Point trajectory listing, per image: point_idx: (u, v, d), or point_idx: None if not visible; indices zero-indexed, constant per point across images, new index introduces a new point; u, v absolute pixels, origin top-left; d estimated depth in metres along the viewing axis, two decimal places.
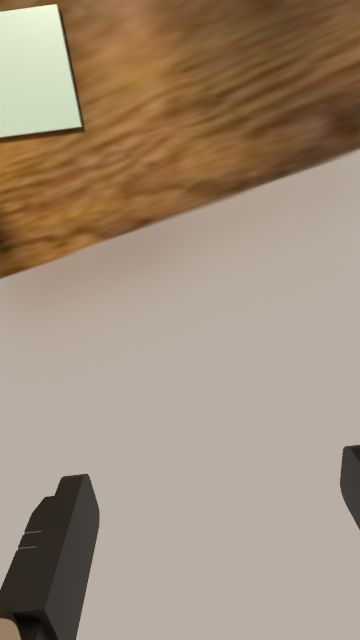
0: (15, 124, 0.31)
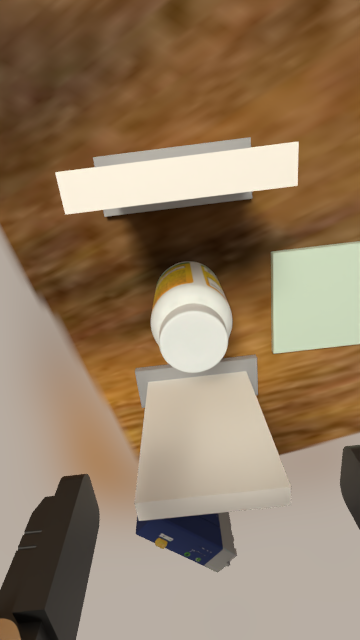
0: (307, 341, 0.29)
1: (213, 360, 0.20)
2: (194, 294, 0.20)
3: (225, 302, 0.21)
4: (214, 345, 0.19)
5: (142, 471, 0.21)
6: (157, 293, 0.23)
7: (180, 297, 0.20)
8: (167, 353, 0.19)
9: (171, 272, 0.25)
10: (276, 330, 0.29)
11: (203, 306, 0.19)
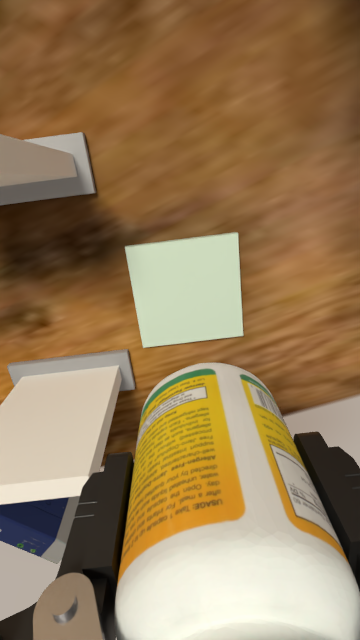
0: (174, 335, 0.30)
1: None
2: (258, 588, 0.06)
3: (350, 581, 0.07)
4: None
5: None
6: (138, 487, 0.09)
7: (207, 596, 0.06)
8: None
9: (174, 407, 0.10)
10: (141, 324, 0.29)
11: None
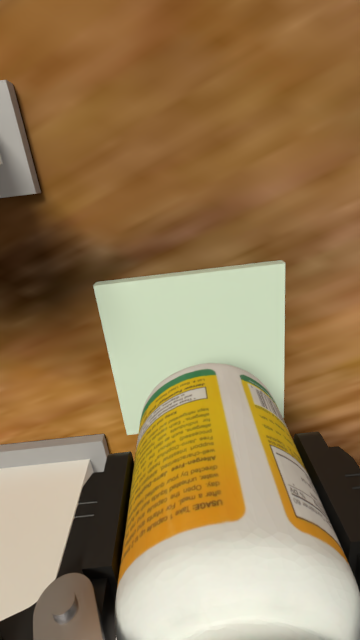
0: None
1: None
2: (258, 589, 0.06)
3: (350, 582, 0.07)
4: None
5: None
6: (138, 487, 0.09)
7: (208, 597, 0.06)
8: None
9: (174, 407, 0.10)
10: (123, 402, 0.18)
11: None
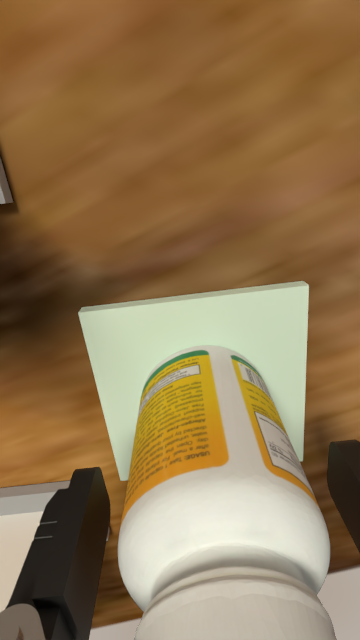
0: None
1: None
2: (236, 517, 0.07)
3: (317, 518, 0.08)
4: None
5: None
6: (138, 449, 0.10)
7: (195, 524, 0.07)
8: None
9: (171, 382, 0.12)
10: (116, 445, 0.16)
11: (272, 592, 0.06)
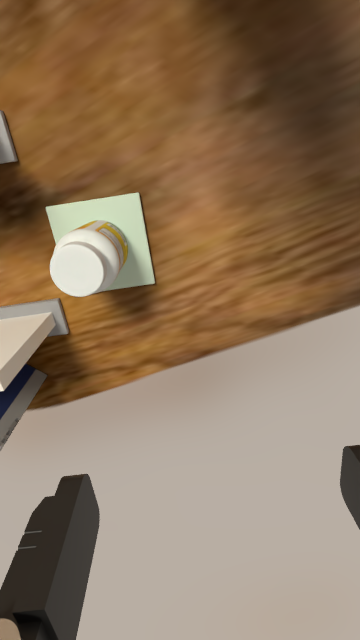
0: None
1: (94, 285, 0.25)
2: (81, 236, 0.26)
3: (109, 243, 0.27)
4: (93, 272, 0.25)
5: None
6: None
7: (70, 238, 0.26)
8: (57, 280, 0.25)
9: None
10: None
11: (83, 242, 0.25)
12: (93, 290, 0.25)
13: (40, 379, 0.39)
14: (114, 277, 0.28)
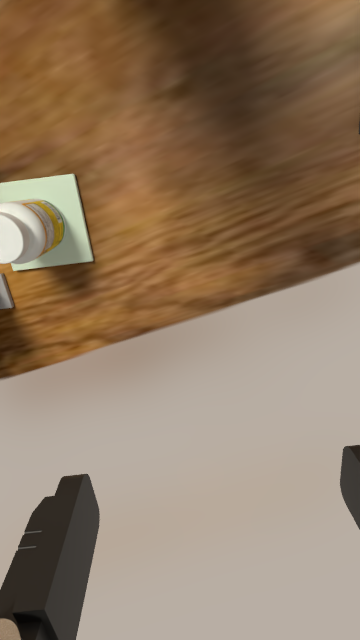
0: (37, 260, 0.37)
1: (15, 253, 0.27)
2: (6, 207, 0.28)
3: (33, 216, 0.29)
4: (13, 241, 0.27)
5: None
6: None
7: None
8: None
9: None
10: None
11: (5, 213, 0.27)
12: (14, 257, 0.28)
13: None
14: (40, 248, 0.30)
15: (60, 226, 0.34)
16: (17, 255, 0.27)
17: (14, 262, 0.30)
